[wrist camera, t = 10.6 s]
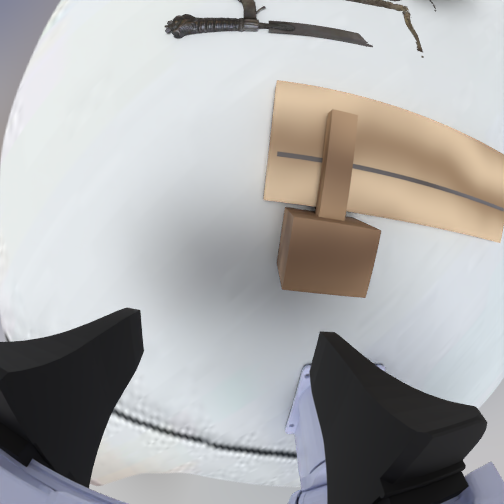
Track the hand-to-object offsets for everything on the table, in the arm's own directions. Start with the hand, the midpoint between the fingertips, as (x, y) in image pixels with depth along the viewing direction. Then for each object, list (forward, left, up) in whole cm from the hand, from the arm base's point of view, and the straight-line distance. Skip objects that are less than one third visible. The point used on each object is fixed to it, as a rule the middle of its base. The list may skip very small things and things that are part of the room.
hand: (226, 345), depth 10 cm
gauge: (+6, -5, -10) cm, 13 cm away
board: (+9, -12, -10) cm, 18 cm away
